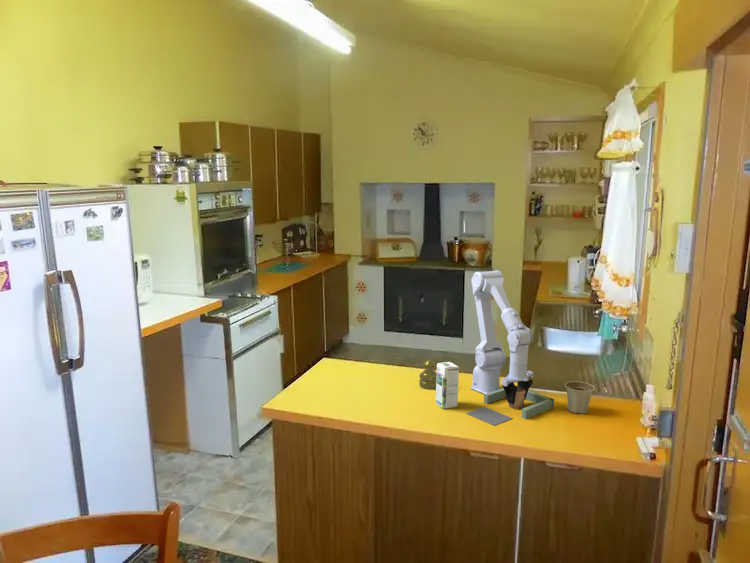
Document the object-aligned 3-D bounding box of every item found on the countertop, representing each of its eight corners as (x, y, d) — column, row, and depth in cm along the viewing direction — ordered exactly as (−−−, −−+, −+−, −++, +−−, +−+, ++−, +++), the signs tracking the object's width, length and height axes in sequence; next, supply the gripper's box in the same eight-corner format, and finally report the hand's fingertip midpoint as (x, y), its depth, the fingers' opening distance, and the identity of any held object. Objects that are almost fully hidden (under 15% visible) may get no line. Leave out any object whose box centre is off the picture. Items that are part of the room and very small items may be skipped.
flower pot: (569, 402, 196) (570, 379, 195) (596, 409, 191) (598, 385, 189) (558, 411, 189) (560, 386, 188) (587, 418, 183) (589, 393, 182)
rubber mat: (466, 413, 187) (466, 413, 187) (484, 407, 192) (484, 406, 192) (494, 425, 177) (494, 425, 177) (512, 418, 183) (512, 418, 183)
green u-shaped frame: (483, 402, 196) (484, 394, 196) (512, 392, 206) (512, 384, 205) (525, 419, 183) (525, 410, 182) (553, 407, 192) (554, 399, 192)
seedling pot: (504, 405, 194) (505, 388, 193) (514, 401, 197) (515, 385, 196) (517, 410, 189) (518, 393, 188) (528, 406, 193) (528, 389, 192)
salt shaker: (429, 391, 206) (430, 364, 205) (415, 385, 212) (415, 360, 210) (443, 386, 211) (443, 360, 210) (428, 381, 217) (429, 356, 215)
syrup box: (434, 403, 195) (435, 363, 193) (449, 400, 197) (450, 361, 195) (443, 409, 190) (444, 368, 187) (458, 406, 192) (459, 366, 190)
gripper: (514, 370, 183) (512, 410, 185) (541, 362, 192) (539, 400, 194) (497, 365, 189) (495, 403, 191) (524, 357, 197) (522, 394, 200)
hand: (516, 401), depth 193 cm, fingers closed on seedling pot, 5 cm apart
